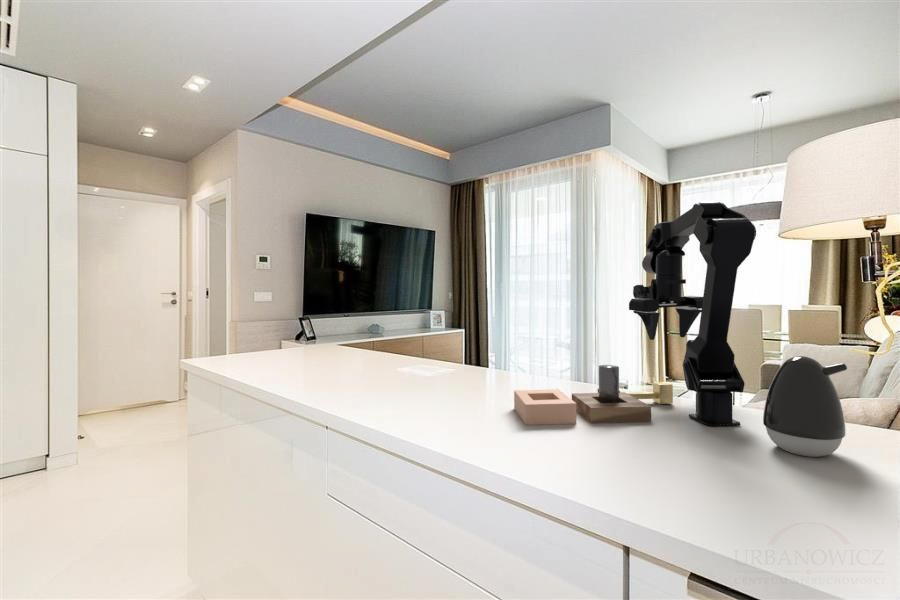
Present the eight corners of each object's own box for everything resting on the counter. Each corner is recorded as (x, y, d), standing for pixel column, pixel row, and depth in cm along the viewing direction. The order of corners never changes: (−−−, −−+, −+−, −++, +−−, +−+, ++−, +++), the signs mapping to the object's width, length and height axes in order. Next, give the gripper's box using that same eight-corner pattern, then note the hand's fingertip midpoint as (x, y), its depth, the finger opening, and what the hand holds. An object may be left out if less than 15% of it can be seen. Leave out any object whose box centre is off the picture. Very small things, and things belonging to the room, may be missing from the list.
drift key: (672, 403, 98) (672, 384, 97) (624, 404, 97) (624, 385, 97) (665, 400, 100) (665, 381, 100) (619, 401, 100) (619, 382, 100)
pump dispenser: (855, 469, 62) (856, 363, 62) (765, 455, 67) (765, 358, 67) (838, 446, 71) (839, 354, 70) (760, 436, 76) (760, 350, 76)
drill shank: (622, 416, 89) (622, 368, 89) (603, 416, 89) (603, 368, 89) (614, 410, 93) (614, 364, 93) (596, 411, 93) (595, 365, 93)
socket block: (651, 421, 85) (651, 404, 85) (591, 423, 85) (591, 406, 85) (619, 402, 100) (618, 388, 100) (567, 403, 100) (567, 389, 100)
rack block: (576, 423, 85) (576, 403, 85) (525, 424, 84) (525, 404, 84) (558, 407, 97) (558, 389, 97) (514, 408, 96) (514, 390, 96)
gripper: (673, 273, 115) (672, 331, 117) (614, 275, 110) (613, 335, 112) (709, 274, 105) (707, 337, 106) (645, 276, 100) (644, 343, 101)
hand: (667, 338), depth 106 cm, fingers open, 9 cm apart
